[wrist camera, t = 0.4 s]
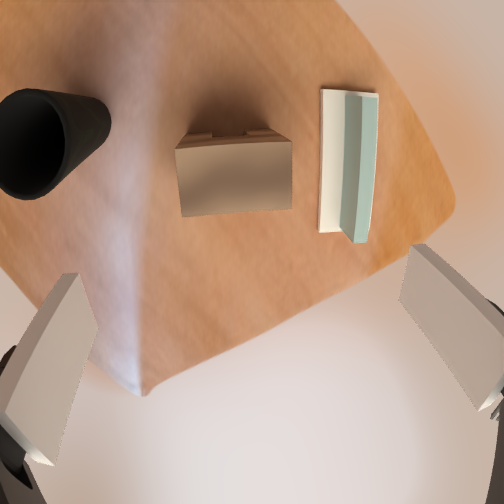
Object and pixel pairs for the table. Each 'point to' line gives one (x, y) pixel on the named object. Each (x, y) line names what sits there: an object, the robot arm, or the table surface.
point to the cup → (46, 138)
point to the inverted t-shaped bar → (347, 162)
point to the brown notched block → (234, 173)
